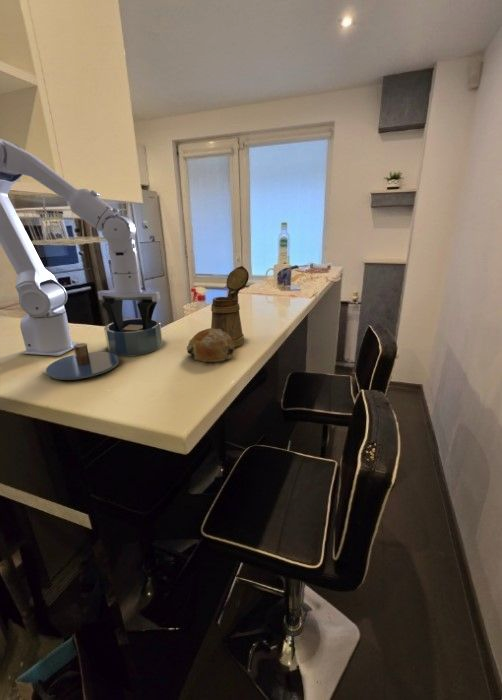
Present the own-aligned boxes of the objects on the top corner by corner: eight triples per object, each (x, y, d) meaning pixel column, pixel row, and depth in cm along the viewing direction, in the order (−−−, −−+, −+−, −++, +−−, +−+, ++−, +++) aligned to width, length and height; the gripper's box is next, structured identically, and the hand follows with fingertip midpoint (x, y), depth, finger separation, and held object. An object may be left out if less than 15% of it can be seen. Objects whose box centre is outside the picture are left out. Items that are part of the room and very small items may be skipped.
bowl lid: (30, 379, 63) (23, 354, 62) (79, 354, 76) (75, 333, 74) (91, 385, 60) (86, 360, 59) (132, 358, 73) (128, 336, 71)
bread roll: (219, 380, 70) (233, 349, 67) (177, 358, 71) (189, 326, 67) (230, 362, 79) (244, 335, 76) (193, 343, 80) (205, 315, 76)
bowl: (97, 354, 76) (93, 331, 74) (125, 337, 87) (122, 317, 85) (148, 357, 74) (145, 334, 72) (170, 339, 85) (168, 319, 83)
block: (122, 347, 79) (120, 329, 77) (132, 341, 83) (129, 324, 81) (139, 348, 78) (137, 330, 76) (148, 342, 82) (146, 325, 80)
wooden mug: (258, 334, 89) (258, 266, 82) (233, 350, 77) (231, 272, 71) (229, 330, 92) (227, 265, 86) (202, 344, 81) (197, 270, 75)
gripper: (163, 270, 77) (168, 326, 81) (106, 269, 79) (115, 324, 84) (149, 274, 70) (156, 335, 75) (88, 273, 72) (98, 332, 77)
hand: (133, 329), depth 79 cm, fingers open, 6 cm apart
